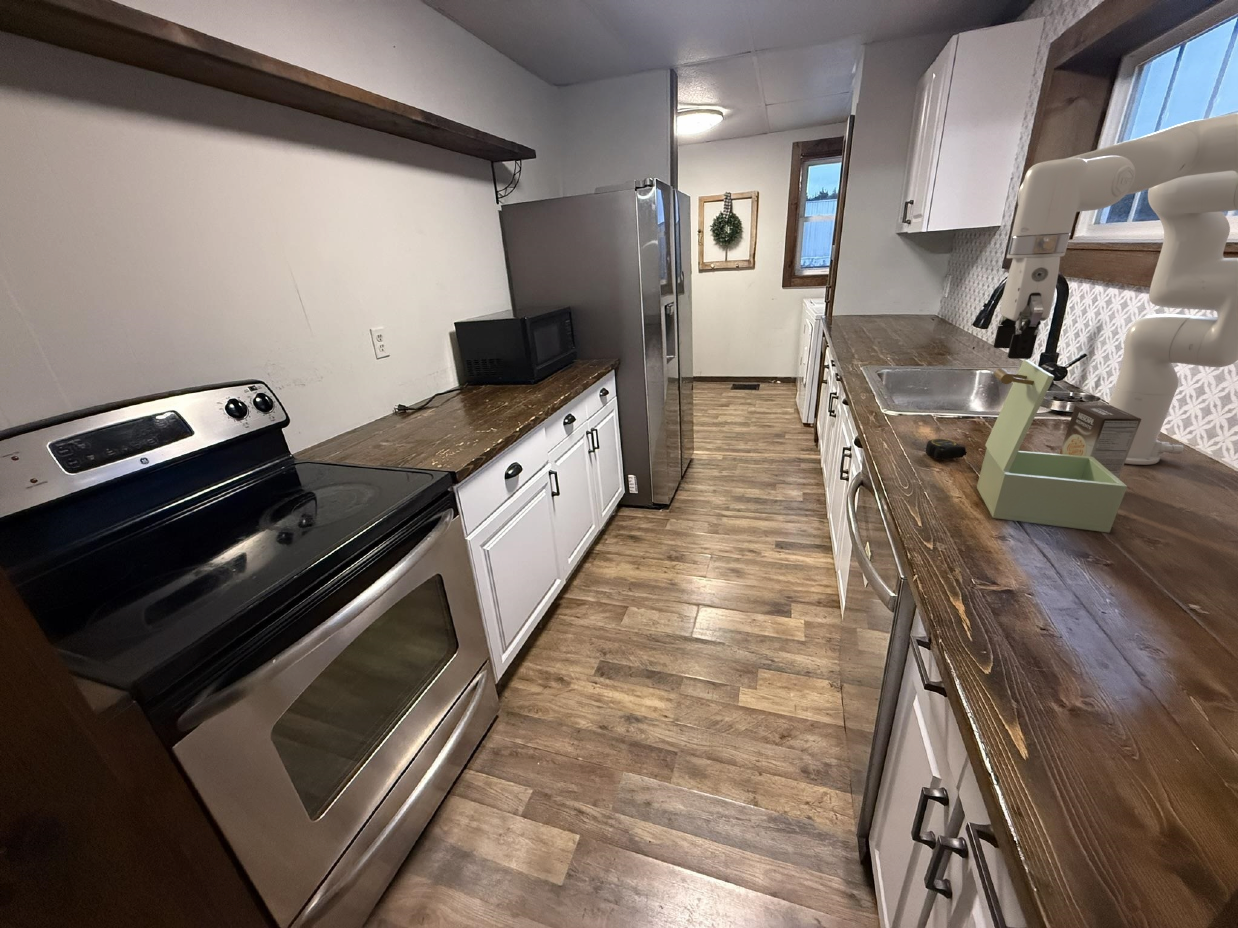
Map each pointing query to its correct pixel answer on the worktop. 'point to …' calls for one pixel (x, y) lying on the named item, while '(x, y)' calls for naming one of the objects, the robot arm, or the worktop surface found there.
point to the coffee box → (1101, 435)
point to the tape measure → (944, 449)
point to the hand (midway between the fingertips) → (1010, 353)
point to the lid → (1017, 411)
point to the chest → (1052, 490)
